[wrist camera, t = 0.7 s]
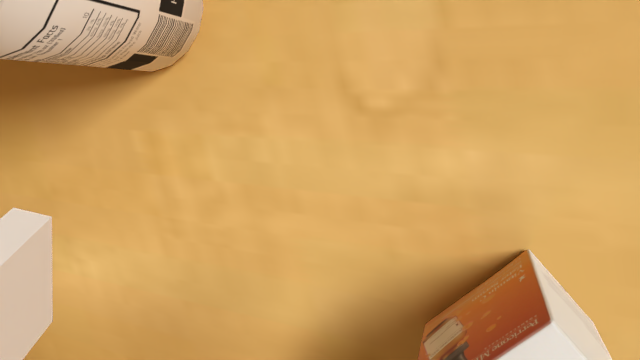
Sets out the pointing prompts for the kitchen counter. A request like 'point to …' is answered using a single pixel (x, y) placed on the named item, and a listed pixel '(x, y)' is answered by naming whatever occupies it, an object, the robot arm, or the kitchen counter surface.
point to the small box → (514, 321)
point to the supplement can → (99, 32)
